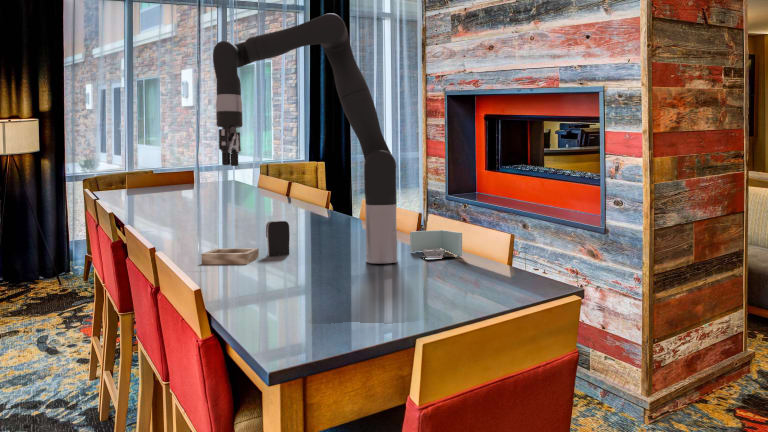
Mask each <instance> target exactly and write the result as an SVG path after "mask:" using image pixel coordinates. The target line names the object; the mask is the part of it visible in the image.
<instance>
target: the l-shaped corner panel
mask: <svg viewBox="0 0 768 432" xmlns="http://www.w3.org/2000/svg"><path fill="white" fill-rule="evenodd" d="M409 236H410V237H409V238H410V239H409V241H410V243H409V245H410V246H409V252H410V251H411V252H415V251H423V253H424V255H427V256H440V255H442V254H443V255H445V253H446V252H445V250H446V251H449V252H451V253H453V254H455V255H457V256H459V257H458V258H461V257H460V256H462V257H463V232H459V231H452V230H446V229H436V230H435V229H434V230H417V231H410V232H409ZM440 248H442V249H440ZM433 252H434V253H433ZM423 253H422V254H423ZM436 259H437V260H438V259H441V258H425V259H424V260H436Z"/></svg>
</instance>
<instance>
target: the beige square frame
mask: <svg viewBox="0 0 768 432" xmlns="http://www.w3.org/2000/svg"><path fill="white" fill-rule="evenodd" d="M259 250H260V249H259V248H214V249H211V250H208V251H206V252H204V253H201V254H200V256H201V258H200V260H201V262H200V263H201V265H249V264H251V263H252V262H254V261H256V260H257V259H258V258H259V255H260V253H259Z"/></svg>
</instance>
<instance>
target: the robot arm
mask: <svg viewBox="0 0 768 432" xmlns="http://www.w3.org/2000/svg"><path fill="white" fill-rule="evenodd" d="M314 45H315V46H316V45H321V47H322V49H323V51H324V53H325V54H326V56H327V60H328V62H329V63H330V66H331V69H332V72H333V76H334V78H333V79H334V82H335V89H336V91H337V95H338V96H337V97H338V99H339V102H340V104H341V107H342V109H343V112H344V115H345V117H346V118H347V120H348V123H349V124H350V127H351V128H352V130H353V133H355V136H356V138H357V139H358V142H359V144H360V147H361V151H362V155H363V158H364V165H363V168H364V171H363V173H364V174H363V175H364V176H363V177H364V199H365V261H366V263H368V264H392V263H394V264H396V263H398V229H397V162H396V159H395V157H394V156H393V155H392V152H391V150H390V149H389V146H388V145H387V142H386V140H385V138H384V136H383V132H382V130H381V129H382V128H381V125H380V121H379V118H378V112H377V110H376V109H377V108H376V105H375V103H374V100H373V96H372V94H371V90H370V89H369V86H368V84H367V81H366V79H365V77H364V75H363V73H362V71H361V69H360V68H359V66H358V64H357V62H356V59H355V57H354V53H353V50H352V46H351V42H350V37H349V33H348V29H347V26H346V23H345V21H344V20H343V18H341V16H339V15H338V14H336V13H325V14H323V15H319V16H317V17H315V18H313V19H311V20H308V21H306V22H303V23H300V24H297V25H295V26H291V27H287V28H284V29H281V30H280V29H279V30H277V31H272V32H268V33H263V34H258V35H255V36H251V37H249V38H247V39H246V40H245V41H244V42H240V43H237V44H233V43H232V42H230V41H228V40H221V41H218V43H216V45H215V46H214V47H213V52H212V62H213V67H214V73H215V77H216V78H215V79H216V101H215V108H216V109H215V112H216V127H218V128H219V129H218V149H219V150H220V152H221V158H222V159H221V160H222V161H221V162H222V163H221V164H222V166H231V167H238V166H239V153H240V152H241V150H242V148H241V146H242V145H241V133H240V131H237V128H242V127H243V126H244V125H243V124H244V123H243V102H242V101H243V100H242V86H241V85H242V84H241V79H240V77H239V75H238V68H242V67H244V66H248V65H249V64H250V65H251V64H252V63H254V62H259V61H262V60H268V59H272V58H276V57H279V56H281V55H282V56H283V55H285V54H287V53H289V52H292V51H293V50H295V49H299V48H302V47H307V46H314Z"/></svg>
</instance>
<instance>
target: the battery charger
mask: <svg viewBox="0 0 768 432" xmlns="http://www.w3.org/2000/svg"><path fill="white" fill-rule="evenodd" d="M265 226H266V227H265V235H266V236H265V237H266V239H267V256H268V257H269V258H270V257H271V258H272V257H281V256H289V255H290V224H289V221H286V220H270V221H268V222H267V223H266V225H265Z"/></svg>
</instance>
